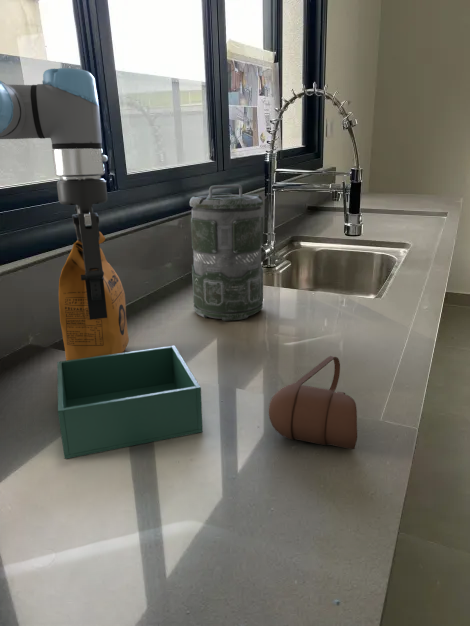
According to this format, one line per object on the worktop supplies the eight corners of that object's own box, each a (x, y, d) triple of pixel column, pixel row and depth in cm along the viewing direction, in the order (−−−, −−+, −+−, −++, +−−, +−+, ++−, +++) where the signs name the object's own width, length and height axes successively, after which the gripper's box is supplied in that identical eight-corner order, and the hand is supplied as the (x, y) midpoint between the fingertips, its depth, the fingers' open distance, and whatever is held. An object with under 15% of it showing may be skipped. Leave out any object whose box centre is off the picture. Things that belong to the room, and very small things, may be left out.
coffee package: (138, 347, 93) (128, 230, 87) (115, 375, 82) (102, 242, 75) (87, 345, 95) (74, 229, 88) (57, 372, 83) (39, 242, 76)
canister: (244, 297, 124) (242, 181, 115) (275, 315, 110) (277, 185, 101) (184, 306, 117) (178, 184, 108) (209, 326, 104) (205, 189, 95)
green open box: (64, 459, 60) (57, 411, 58) (62, 402, 73) (57, 361, 71) (202, 432, 65) (200, 387, 63) (176, 383, 79) (174, 345, 76)
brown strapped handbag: (354, 464, 58) (358, 412, 56) (260, 444, 62) (260, 394, 60) (375, 396, 73) (379, 353, 71) (299, 383, 78) (300, 342, 76)
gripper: (113, 180, 68) (126, 326, 75) (99, 174, 91) (110, 286, 97) (56, 182, 66) (75, 332, 73) (55, 175, 88) (70, 290, 95)
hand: (95, 306), depth 85 cm, fingers open, 13 cm apart
